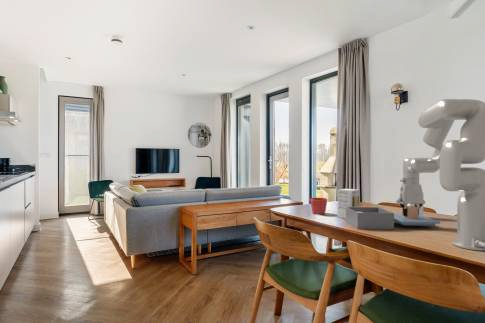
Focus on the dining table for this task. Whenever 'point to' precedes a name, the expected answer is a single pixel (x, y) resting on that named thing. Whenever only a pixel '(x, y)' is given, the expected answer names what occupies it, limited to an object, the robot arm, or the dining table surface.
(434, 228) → the dining table surface
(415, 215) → the lid
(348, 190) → the supplement box
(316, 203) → the flower pot
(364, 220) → the storage box
